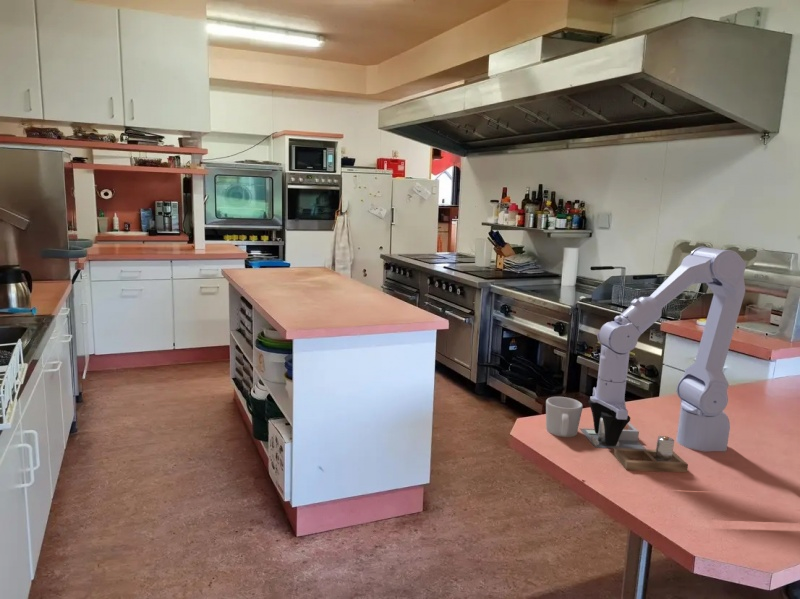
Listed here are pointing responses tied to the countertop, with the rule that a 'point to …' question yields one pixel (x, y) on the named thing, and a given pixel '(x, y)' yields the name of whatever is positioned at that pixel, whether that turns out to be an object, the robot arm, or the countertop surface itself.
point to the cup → (563, 416)
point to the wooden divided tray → (648, 461)
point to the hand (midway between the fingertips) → (605, 438)
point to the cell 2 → (664, 449)
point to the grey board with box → (625, 441)
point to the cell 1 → (601, 433)
